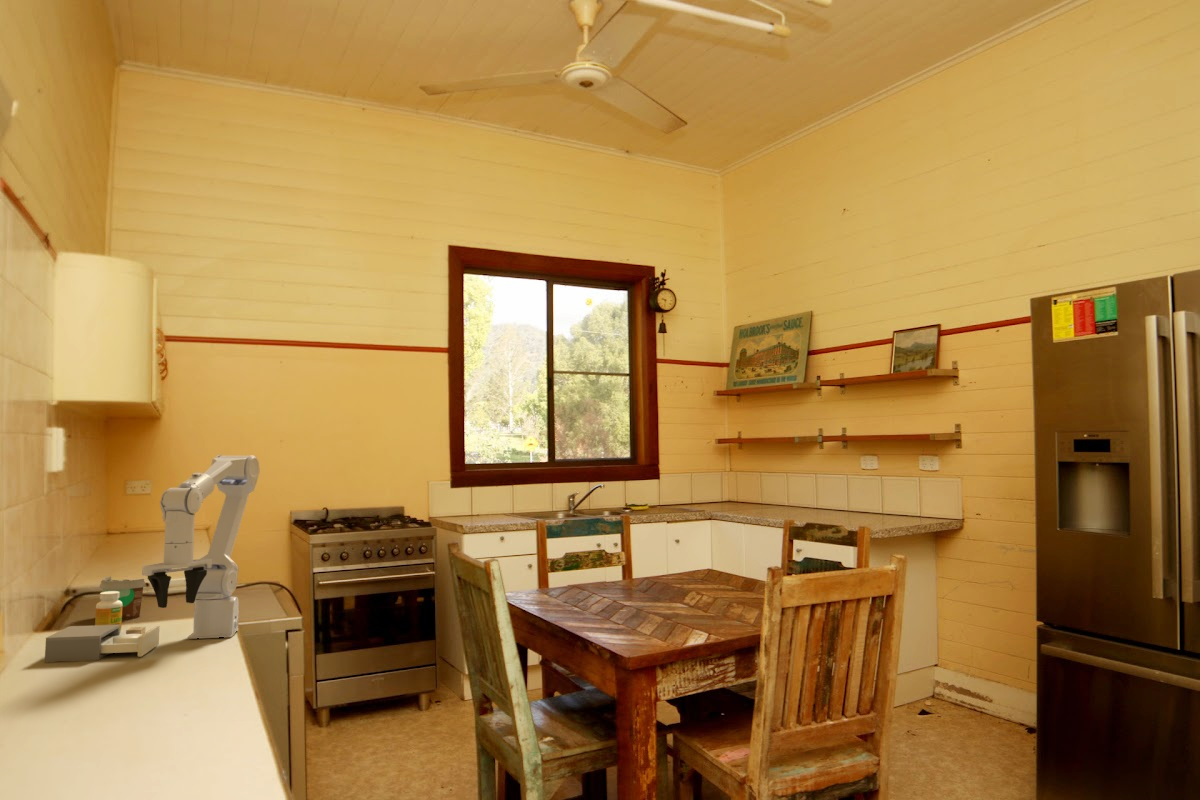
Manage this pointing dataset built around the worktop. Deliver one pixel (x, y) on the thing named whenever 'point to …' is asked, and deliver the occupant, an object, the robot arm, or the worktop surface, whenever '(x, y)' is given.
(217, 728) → the worktop surface
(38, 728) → the worktop surface
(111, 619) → the supplement bottle
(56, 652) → the grey boxy piece
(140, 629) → the block
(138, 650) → the tray
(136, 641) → the disc
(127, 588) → the food container
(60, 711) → the worktop surface
